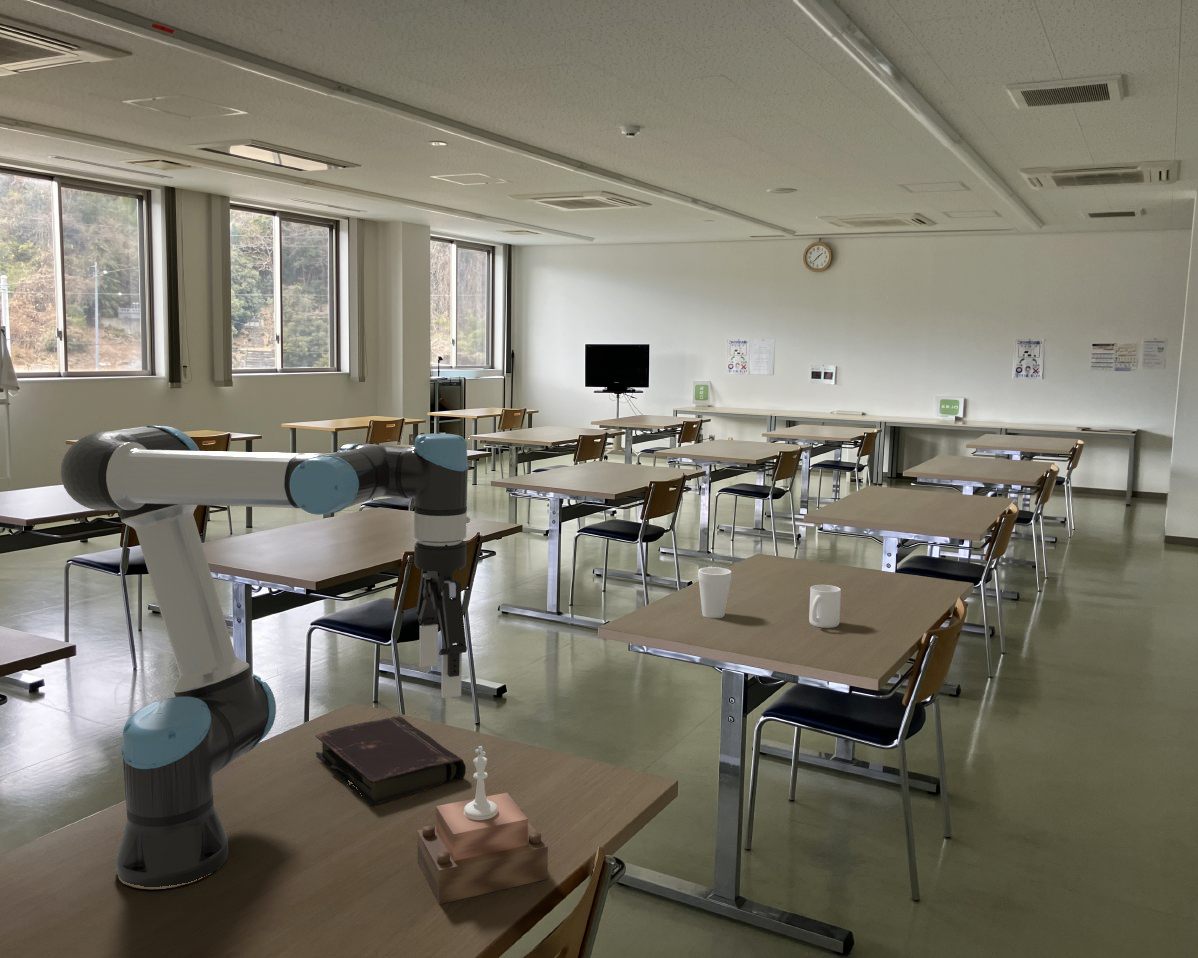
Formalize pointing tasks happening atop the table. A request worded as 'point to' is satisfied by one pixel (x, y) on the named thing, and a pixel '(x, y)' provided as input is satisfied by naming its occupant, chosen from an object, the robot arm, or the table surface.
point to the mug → (824, 606)
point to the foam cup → (714, 590)
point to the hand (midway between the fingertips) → (439, 680)
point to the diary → (388, 759)
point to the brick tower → (480, 851)
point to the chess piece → (480, 793)
